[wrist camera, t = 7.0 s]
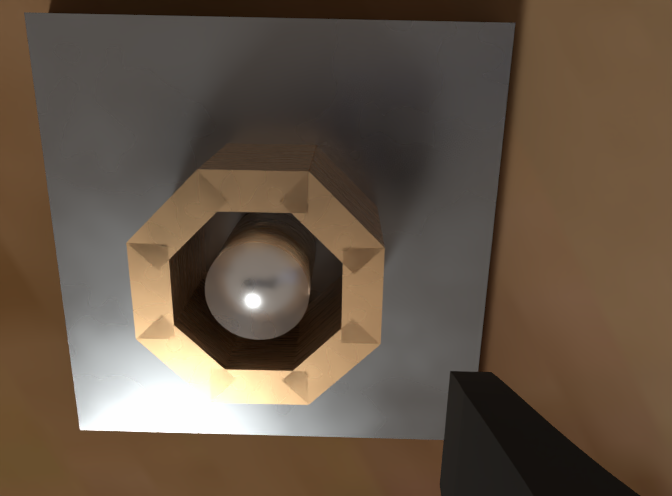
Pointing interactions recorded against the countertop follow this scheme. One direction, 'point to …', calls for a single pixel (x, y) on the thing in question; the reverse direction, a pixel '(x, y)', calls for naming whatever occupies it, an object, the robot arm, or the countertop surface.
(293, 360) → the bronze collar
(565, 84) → the countertop surface
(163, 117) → the piston stand
